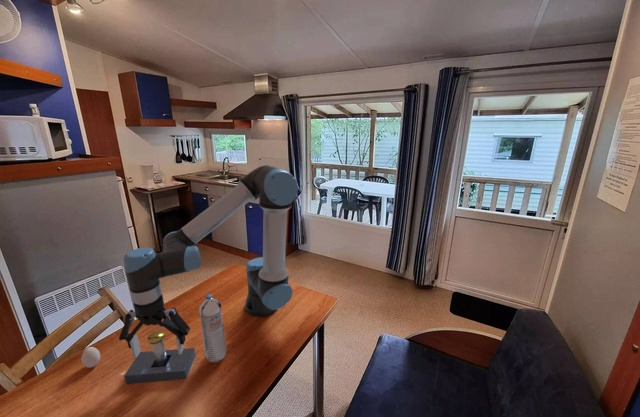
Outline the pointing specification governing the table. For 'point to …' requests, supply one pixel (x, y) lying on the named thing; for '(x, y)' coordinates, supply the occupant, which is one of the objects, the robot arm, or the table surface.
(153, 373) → the grey block with hole
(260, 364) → the table surface
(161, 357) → the pin
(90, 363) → the egg
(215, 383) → the table surface
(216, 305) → the water bottle
